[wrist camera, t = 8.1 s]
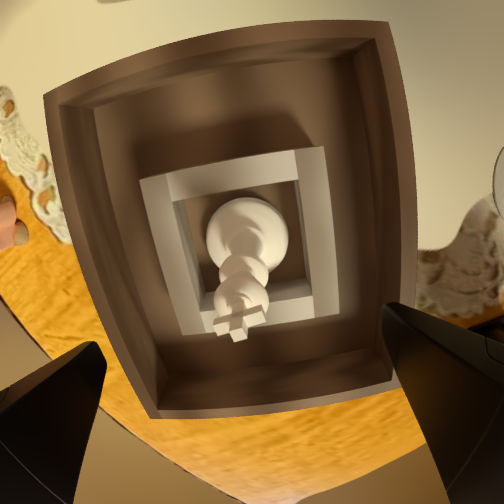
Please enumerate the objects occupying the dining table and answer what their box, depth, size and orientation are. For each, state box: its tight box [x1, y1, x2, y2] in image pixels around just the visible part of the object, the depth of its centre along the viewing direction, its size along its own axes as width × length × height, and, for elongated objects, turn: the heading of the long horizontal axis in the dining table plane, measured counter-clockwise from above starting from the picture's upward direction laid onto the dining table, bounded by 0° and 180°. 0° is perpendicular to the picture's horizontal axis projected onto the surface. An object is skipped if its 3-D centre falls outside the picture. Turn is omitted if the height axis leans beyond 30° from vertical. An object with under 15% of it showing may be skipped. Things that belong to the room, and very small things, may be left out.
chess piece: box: [206, 197, 289, 342], centre depth 14 cm, size 5×5×10 cm
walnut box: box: [43, 20, 418, 419], centre depth 17 cm, size 18×22×5 cm
